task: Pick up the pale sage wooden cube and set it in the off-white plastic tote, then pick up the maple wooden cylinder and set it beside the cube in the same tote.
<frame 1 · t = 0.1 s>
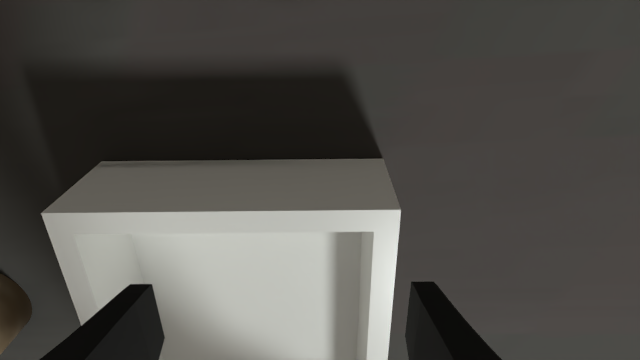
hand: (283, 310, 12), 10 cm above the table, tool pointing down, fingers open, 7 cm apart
tote: (256, 298, 25), on the table
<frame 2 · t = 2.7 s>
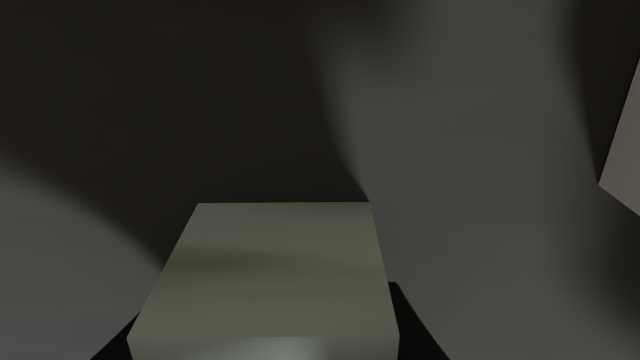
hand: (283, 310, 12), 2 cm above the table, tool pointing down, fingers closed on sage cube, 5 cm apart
sage cube: (287, 271, 13), on the table, touching gripper
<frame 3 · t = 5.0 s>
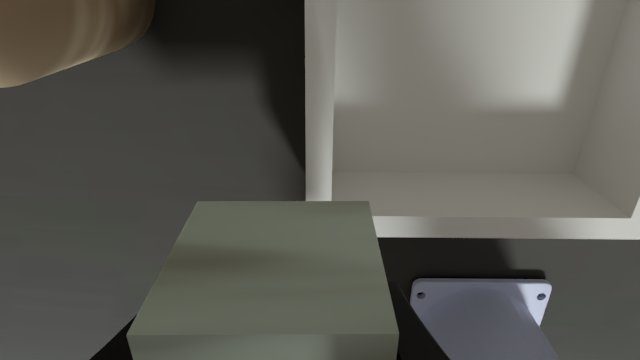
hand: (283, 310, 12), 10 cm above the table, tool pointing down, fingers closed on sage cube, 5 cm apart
sage cube: (286, 269, 13), point 9 cm above the table, touching gripper
when the fingers open (4 cm above the table, at t = 7.3 s): sage cube drops 1 cm, resting on tote.
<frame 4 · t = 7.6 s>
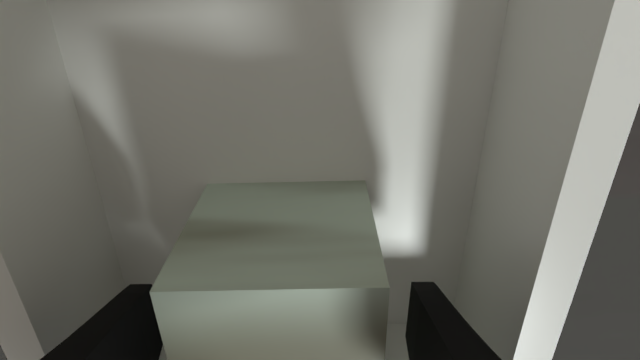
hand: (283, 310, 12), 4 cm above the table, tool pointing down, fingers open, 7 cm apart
sage cube: (290, 247, 14), point 1 cm above the table, touching tote
tote: (285, 115, 13), on the table
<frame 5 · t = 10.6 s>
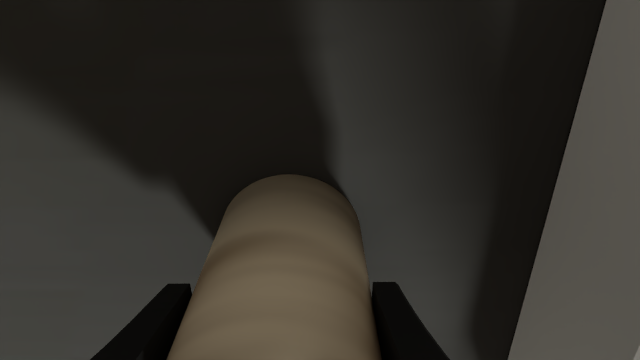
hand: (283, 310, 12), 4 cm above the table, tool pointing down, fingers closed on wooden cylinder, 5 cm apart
wooden cylinder: (291, 237, 15), on the table, touching gripper
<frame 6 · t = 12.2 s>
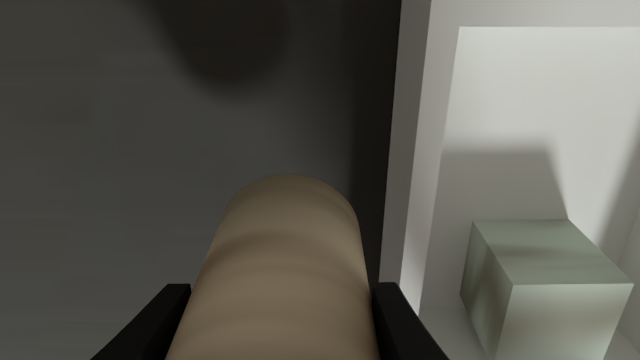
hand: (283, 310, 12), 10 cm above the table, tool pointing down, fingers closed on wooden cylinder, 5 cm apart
wooden cylinder: (290, 236, 15), point 7 cm above the table, touching gripper
sage cube: (511, 258, 23), point 1 cm above the table, touching tote
tote: (522, 179, 21), on the table
when the fingers open (6 cm above the table, at t = 14.3 s): wooden cylinder drops 1 cm, resting on tote.
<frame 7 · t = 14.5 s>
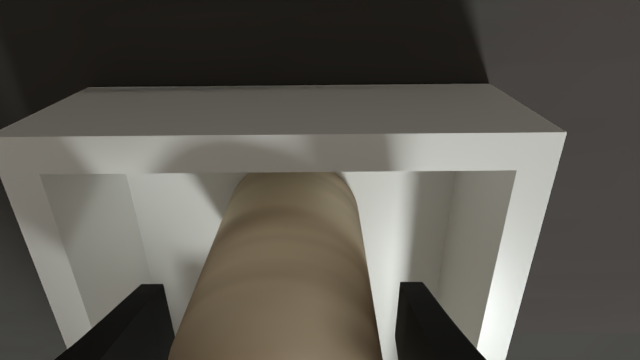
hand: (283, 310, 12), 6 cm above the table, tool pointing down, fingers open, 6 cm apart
wooden cylinder: (293, 218, 16), point 1 cm above the table, touching tote
tote: (297, 286, 18), on the table
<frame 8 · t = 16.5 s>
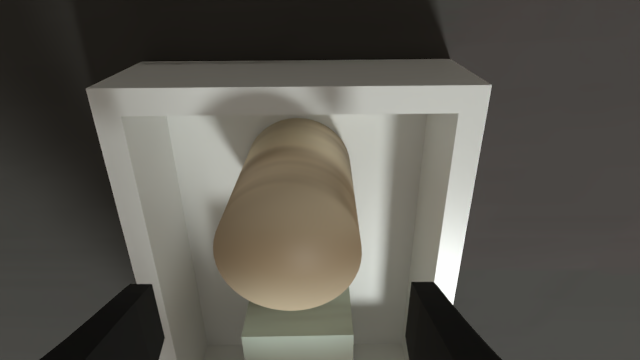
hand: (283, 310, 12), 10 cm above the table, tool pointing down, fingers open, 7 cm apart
wooden cylinder: (298, 167, 20), point 1 cm above the table, touching tote
sage cube: (303, 300, 24), point 1 cm above the table, touching tote
tote: (301, 228, 23), on the table
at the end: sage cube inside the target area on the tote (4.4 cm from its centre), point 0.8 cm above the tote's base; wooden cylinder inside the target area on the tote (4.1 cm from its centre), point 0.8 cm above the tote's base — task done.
